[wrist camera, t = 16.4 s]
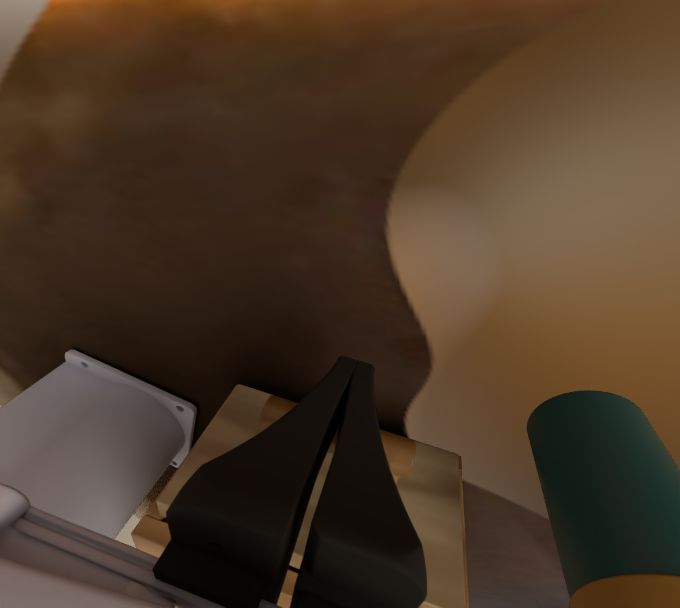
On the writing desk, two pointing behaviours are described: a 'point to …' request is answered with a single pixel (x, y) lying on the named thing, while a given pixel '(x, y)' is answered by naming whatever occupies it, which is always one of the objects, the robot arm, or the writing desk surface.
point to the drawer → (402, 454)
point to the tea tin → (609, 500)
